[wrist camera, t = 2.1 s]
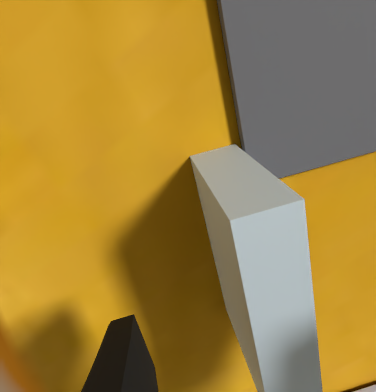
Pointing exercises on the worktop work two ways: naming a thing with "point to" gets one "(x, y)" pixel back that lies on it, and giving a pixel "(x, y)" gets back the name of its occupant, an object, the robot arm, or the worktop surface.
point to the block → (262, 267)
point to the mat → (302, 79)
